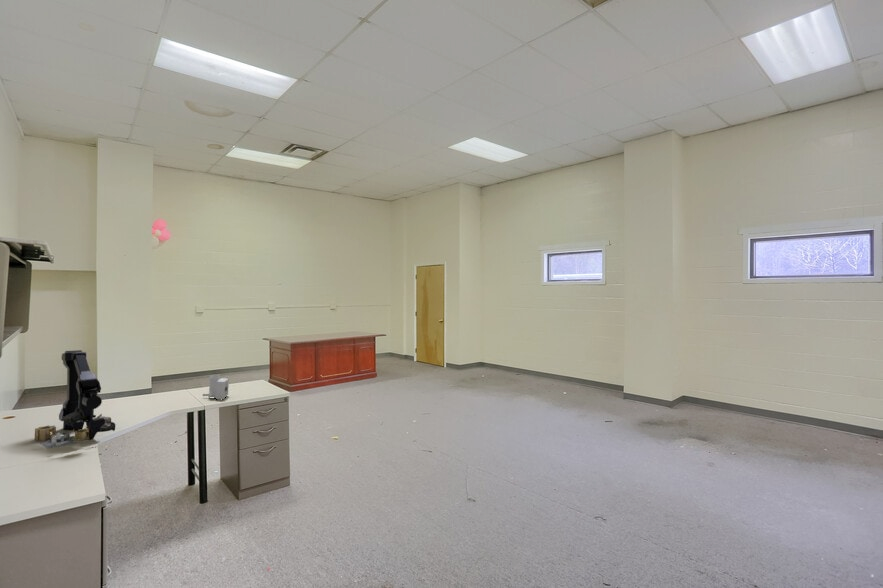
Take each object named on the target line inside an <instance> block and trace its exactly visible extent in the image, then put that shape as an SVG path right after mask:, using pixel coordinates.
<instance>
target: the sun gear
mask: <svg viewBox="0 0 883 588" xmlns="http://www.w3.org/2000/svg"><path fill="white" fill-rule="evenodd" d="M54 436H56V437H57V442H60V441H61V442H62V441H65V440H69V438H70V439H71V437H70V436H71V433H70V432H66V431H64V432H56V434H52V435H51V440H50V441H51V442H52V437H54Z"/></svg>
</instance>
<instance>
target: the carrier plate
mask: <svg viewBox="0 0 883 588" xmlns="http://www.w3.org/2000/svg"><path fill="white" fill-rule="evenodd" d="M37 443H39V444H41V445H42V446H43V447H44V448H46V449H50V448H55V447H60V446H67V445H72V444H77V442H76V441H74V440H73V439H72V438H71V437H70V438H69V440H65V441H62V442H61V441H60V442H57V437H56V436H54V437H52V442H51V441H50V440H45V441H37Z"/></svg>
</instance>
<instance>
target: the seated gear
mask: <svg viewBox="0 0 883 588" xmlns="http://www.w3.org/2000/svg"><path fill="white" fill-rule="evenodd" d="M52 434H57V426H55V425H45V426H38V427H37V428H34V441H35V442H38V441H45V440H51V435H52Z"/></svg>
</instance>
